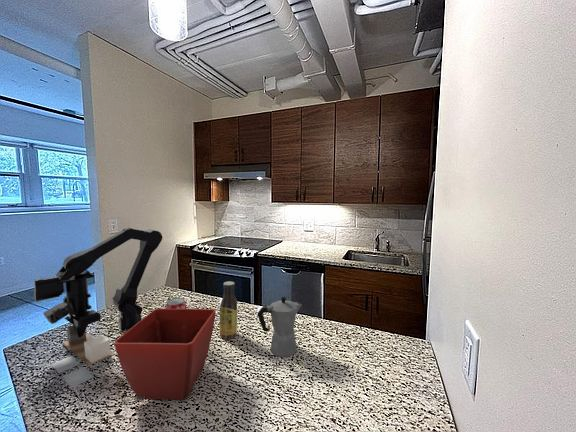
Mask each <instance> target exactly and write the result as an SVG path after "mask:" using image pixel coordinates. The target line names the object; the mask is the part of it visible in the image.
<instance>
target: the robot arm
mask: <svg viewBox="0 0 576 432" xmlns="http://www.w3.org/2000/svg"><path fill="white" fill-rule="evenodd" d="M130 240H137V241H139V249H138V250H139V251H138V253H137V254H136V255H137V256H136V258H135V260H134V262H133V265H132V267H131V268H130V271H129V274H128V277H127V279H126V281H125V283H124V285H123V286H122V287H121V289H120V288H116V290H115V294H114V296H113V297H112V298H111V299H112V300H113V301H112V304H113V306H114V308H115V309H116V310H118V312H119V313H120V314H119V315H120V317H119V318H118V325H119V327H118V328H119V329H120V330H121V331H123V330H129V329H131V328H132V327H133V326H134V325H136V324H137V323H138V322H140V321H141V320H142V311H143V307H141V306H140V304H138V303H137V299H138V288H139V286H140V283H141V280H142V278H143V276H144V274H145V271H146V269H147V266H148V263H149V261H150V259H151V256H152V254H153V253H154V252H155V251H156V250H157V249H158V247H159V245H160V244H161V243H162V241H163V235H162V233H161V232H160V231H158V230H155V229H151V228H150V229H146V230H140V229H135V228H131V227H125V228H122V230H120V231H119V232H117V233H115V234H113V235H111V236H110V237H108V238H107V239H105V240H103V241H101V242H99V243H98V244H96V245H94V246H91V247H90V248H88V249H85V250H82V251H81V250H80V251H79V252H76V253H73V254H71V255H68V256H67V257H65V258H64V260H63V263H62V267H61V268H60V269H59V270H58V272H57V273H56V274H55V276H52V277H51V276H50V277H46V278H45V277H44V278H35V279H34V288H33V294H34V295H33V296H34V301H35V303H36V302H37V303H39V302H42V301H46V300H50V299H55V298H60V296H61V295H63V293H65V296H64V297H63V298H62V299H63V301H62V302H60V303H58V304H56V305H54V306H52V307H50V308H49V309H47V310H46V311H45V310H44V312H43V316H44V317H45V319H46V320H47V322H48V323H50V324H52V325H53V324H56V323H58V321H60V320H62V319H63V318H64V320H66V321H67V322H69V324H71V325H73V326H74V329H75V331H76V333H77V336H78V337H79V338H80V337H82V336H83V334H84V332H85V330H87V327H88V326H89V325H90V324H93V323H95V322H98V321H101V319H102V318H101V313H100V312H98V311H96V310H94V309H92V305H91V304H90V303H89V298H91V293H89V287H88V279H90V278H94V277H95V275H94V274H93V273H92V272H90V271H89V270H88V269H89V268H91V267H92V266H93V265H94V264H95V263H96V262H97V260H99V259H100V258H102V257H103V256H105V255H106V254H108V253H109V252H111V251H113V250H114V249H116V248H118V247H120V246H122V245H123V244H124V243H126V242H128V241H130ZM64 284H65V285H64Z"/></svg>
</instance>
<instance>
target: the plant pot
mask: <svg viewBox="0 0 576 432" xmlns="http://www.w3.org/2000/svg"><path fill="white" fill-rule="evenodd" d="M215 320H216V309H215V308H187V309H165V308H155V309H153V310H152V311H151V312H149V313H148V314H147V315H146V316H144V317H143V318H141V321H140V322H138V323H137V324H136V325H134V326H133V327H132V328H131V329H127V331H125V333H123V334H122V335H121V336H119V337H118V338H116V340H114V341H113V342H114V347H115V353H116V355H117V359H118V362H119V364H120V366H121V369H122V372H123V374H124V377H125V378H126V380H127V382H128V384H129V386H130V388H131V389H132V391H133V392H134V395H135V396H136V397H138V398H142V399H143V400H169V401H170V400H172V401H177V400H178V401H179V400H181V401H182V400H183V401H184V400H185V399H187V398H188V397H189V395H190V394H191V392H192V390H193V388H194V386H195V385H196V382H197V381H198V379H199V377H200V375H201V373H202V371H203V370H204V368H205V364H206V361H207V357H208V354H209V351H210V350H209V349H210V345H211V341H212V338H213V331H214V325H215Z"/></svg>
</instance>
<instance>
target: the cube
mask: <svg viewBox="0 0 576 432" xmlns="http://www.w3.org/2000/svg"><path fill="white" fill-rule="evenodd" d="M84 347H85V358H86V359H88V360H89V361H90V362H91V363H93V362H96V361H98V360H100V359H102V358H104V357H107V356H109V355H111V354H110V350H111V340H110V338H108V337H107V336H105V335H104V334H101V335H99V336H96V337H93V339H91V340H88V341H86V342H84ZM111 356H112V355H111ZM109 357H110V356H109ZM107 358H108V357H107ZM104 359H105V358H104ZM102 360H103V359H102ZM100 361H101V360H100ZM98 362H99V361H98ZM96 363H97V362H96Z"/></svg>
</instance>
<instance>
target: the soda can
mask: <svg viewBox="0 0 576 432" xmlns="http://www.w3.org/2000/svg"><path fill="white" fill-rule="evenodd" d="M165 303H166V304H165V307H164V309H188V308H187V302H186V299H185V298H183V297H174V298H171V299H169V300H167V301H166V302H165Z"/></svg>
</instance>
